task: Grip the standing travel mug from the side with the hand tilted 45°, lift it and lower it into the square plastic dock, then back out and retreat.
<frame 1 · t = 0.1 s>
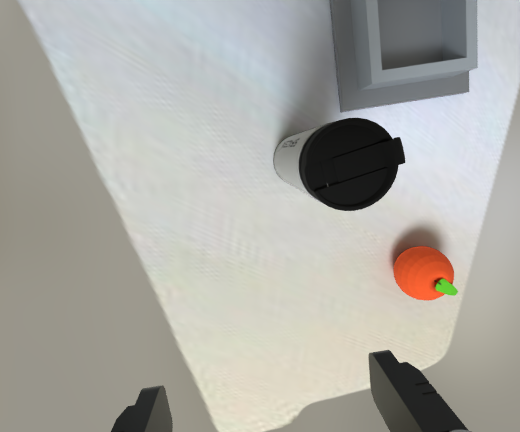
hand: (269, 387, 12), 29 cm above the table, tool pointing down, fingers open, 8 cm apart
travel mug: (298, 159, 40), on the table
clementine: (410, 264, 44), on the table
mug dock: (398, 33, 37), on the table
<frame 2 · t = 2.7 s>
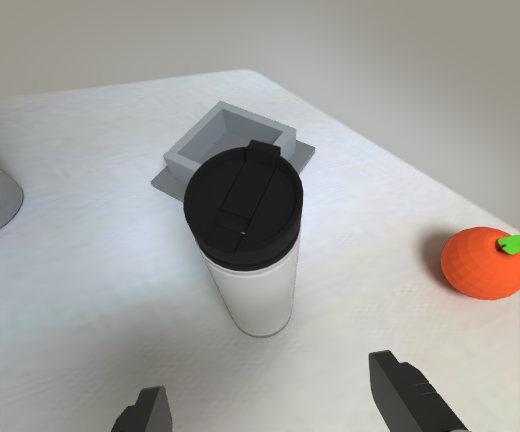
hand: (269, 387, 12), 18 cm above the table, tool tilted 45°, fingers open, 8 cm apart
travel mug: (262, 305, 32), on the table
clementine: (467, 275, 33), on the table
mug dock: (235, 169, 42), on the table
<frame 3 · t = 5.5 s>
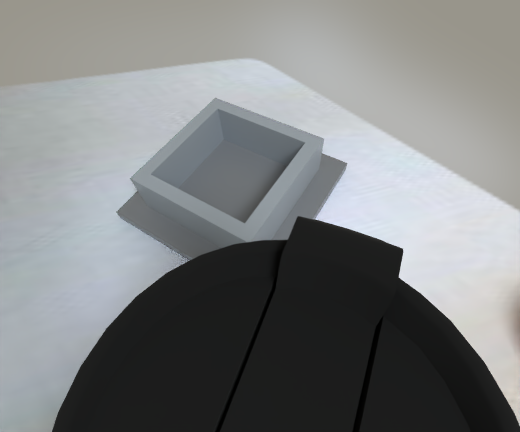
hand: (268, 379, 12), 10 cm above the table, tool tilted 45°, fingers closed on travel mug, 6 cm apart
travel mug: (278, 422, 20), on the table, touching gripper
mug dock: (236, 193, 30), on the table
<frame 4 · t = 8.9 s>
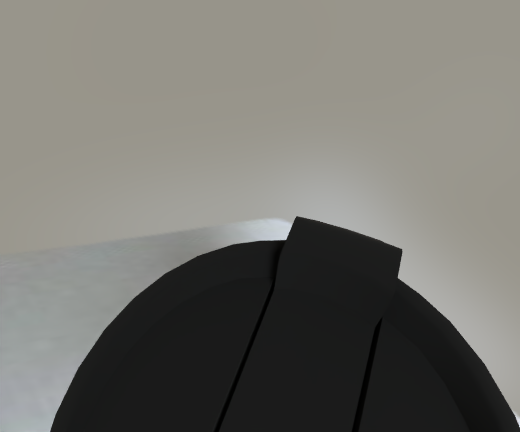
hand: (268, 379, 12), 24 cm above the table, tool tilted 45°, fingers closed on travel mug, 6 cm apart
travel mug: (278, 422, 20), point 13 cm above the table, touching gripper
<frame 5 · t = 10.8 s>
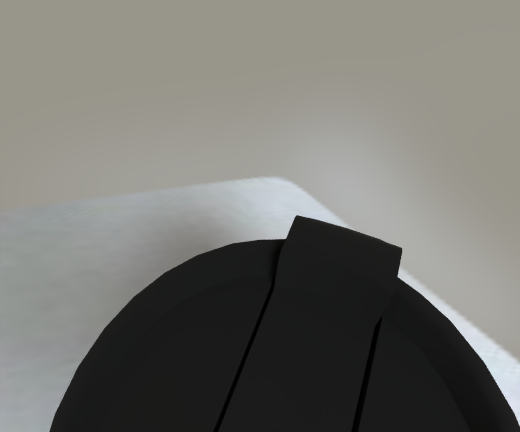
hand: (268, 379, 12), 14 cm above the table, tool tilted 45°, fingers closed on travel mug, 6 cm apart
travel mug: (278, 421, 20), point 4 cm above the table, touching gripper
when the fingers open (13 cm above the table, at t = 12.2 s): travel mug drops 1 cm, resting on mug dock.
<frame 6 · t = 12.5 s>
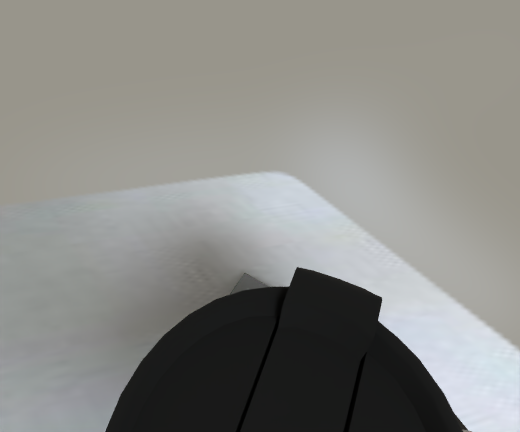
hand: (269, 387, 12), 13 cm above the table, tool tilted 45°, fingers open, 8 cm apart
travel mug: (279, 425, 21), point 1 cm above the table, touching mug dock
mug dock: (276, 421, 22), on the table
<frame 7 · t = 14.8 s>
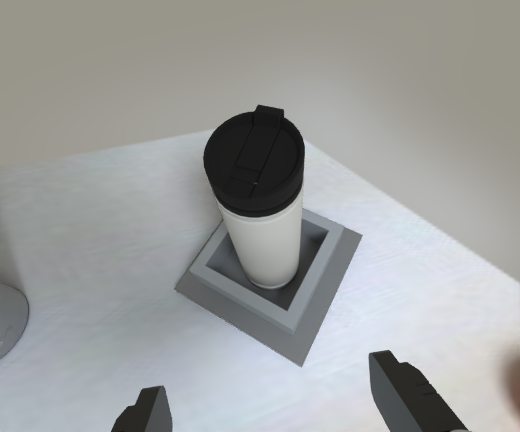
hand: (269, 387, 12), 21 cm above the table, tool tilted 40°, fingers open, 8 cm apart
travel mug: (271, 263, 36), point 1 cm above the table, touching mug dock
mug dock: (270, 264, 36), on the table
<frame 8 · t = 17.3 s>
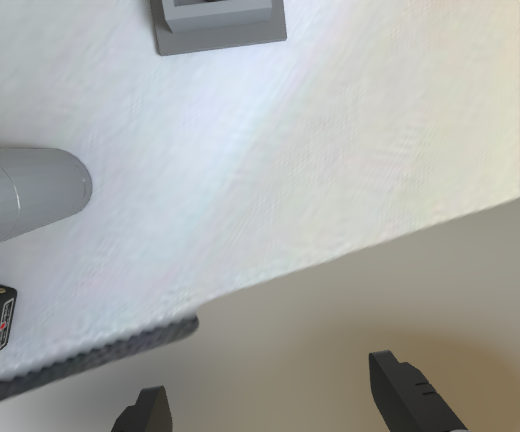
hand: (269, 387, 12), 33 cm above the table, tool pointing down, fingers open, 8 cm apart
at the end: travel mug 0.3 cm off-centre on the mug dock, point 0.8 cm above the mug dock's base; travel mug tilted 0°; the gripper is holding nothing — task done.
